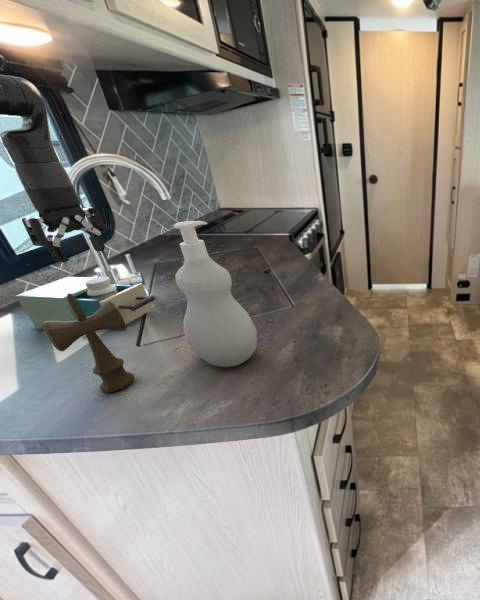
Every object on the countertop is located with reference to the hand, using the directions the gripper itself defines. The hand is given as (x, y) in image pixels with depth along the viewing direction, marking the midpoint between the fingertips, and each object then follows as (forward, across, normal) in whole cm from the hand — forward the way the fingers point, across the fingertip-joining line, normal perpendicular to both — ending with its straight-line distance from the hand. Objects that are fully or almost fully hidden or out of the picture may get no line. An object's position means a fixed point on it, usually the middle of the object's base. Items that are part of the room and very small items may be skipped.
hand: (82, 256), depth 75 cm
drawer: (+17, +1, -2) cm, 18 cm away
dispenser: (+18, +1, +11) cm, 21 cm away
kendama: (+19, -22, -24) cm, 38 cm away
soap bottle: (+18, -11, -40) cm, 46 cm away
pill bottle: (+16, +1, 0) cm, 17 cm away
